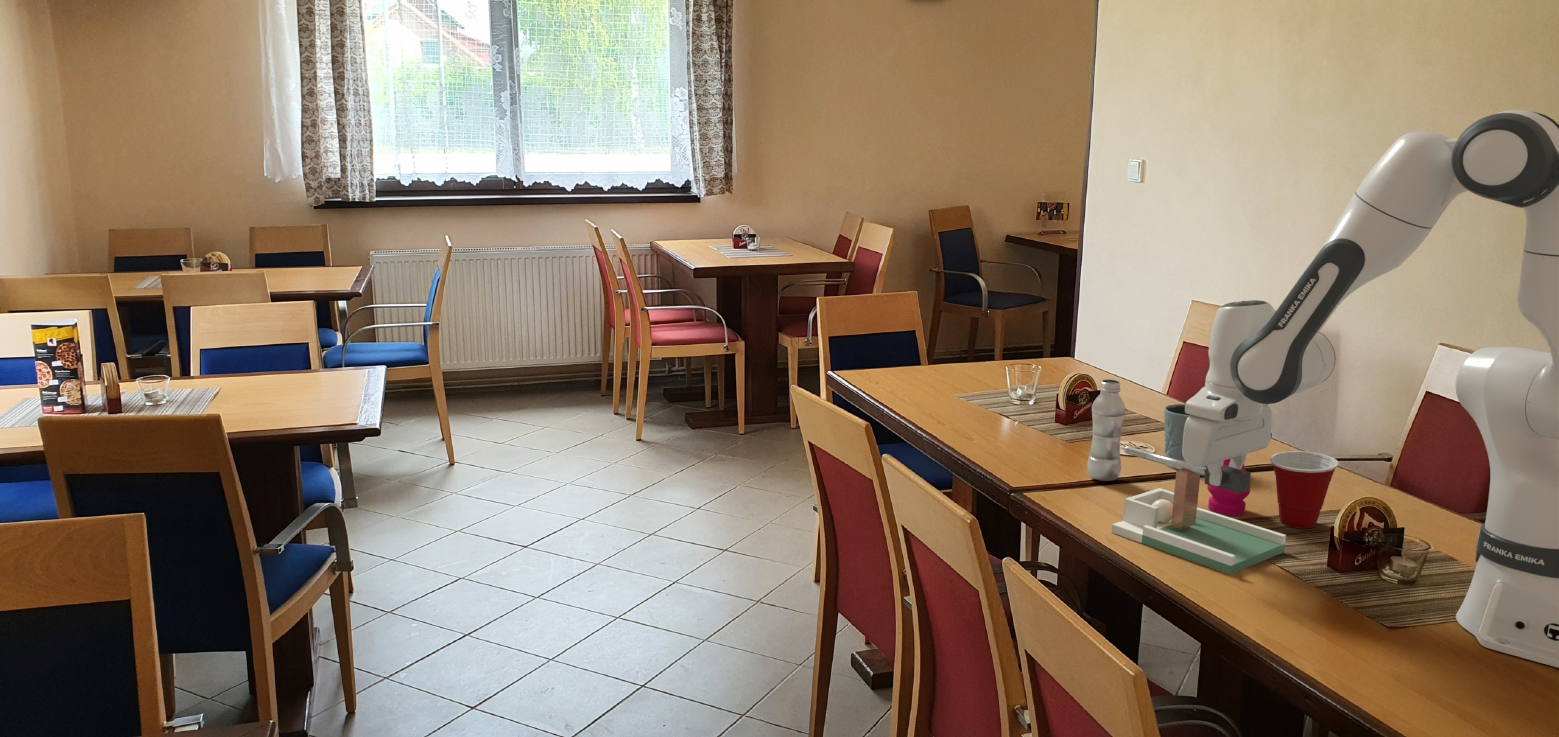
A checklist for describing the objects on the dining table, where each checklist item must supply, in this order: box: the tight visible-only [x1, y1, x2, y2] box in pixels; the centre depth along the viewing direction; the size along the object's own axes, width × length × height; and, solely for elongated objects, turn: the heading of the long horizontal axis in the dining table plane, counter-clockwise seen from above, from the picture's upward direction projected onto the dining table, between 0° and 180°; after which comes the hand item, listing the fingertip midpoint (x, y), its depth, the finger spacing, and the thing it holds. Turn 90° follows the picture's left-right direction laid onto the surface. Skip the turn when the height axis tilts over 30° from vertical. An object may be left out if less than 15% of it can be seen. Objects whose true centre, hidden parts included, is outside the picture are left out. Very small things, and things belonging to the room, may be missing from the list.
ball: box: [1152, 499, 1173, 523], centre depth 184 cm, size 4×4×4 cm
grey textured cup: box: [1163, 403, 1206, 471], centre depth 220 cm, size 10×10×12 cm
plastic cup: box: [1269, 450, 1339, 529], centre depth 188 cm, size 11×11×12 cm
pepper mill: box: [1206, 459, 1251, 516], centre depth 193 cm, size 7×7×20 cm
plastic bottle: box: [1086, 379, 1126, 482], centre depth 210 cm, size 6×7×20 cm
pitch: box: [1111, 487, 1287, 576], centre depth 179 cm, size 22×16×6 cm
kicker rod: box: [1123, 445, 1252, 529], centre depth 181 cm, size 23×4×12 cm, turn 37°
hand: (1224, 482), depth 174 cm, fingers closed on kicker rod, 3 cm apart
